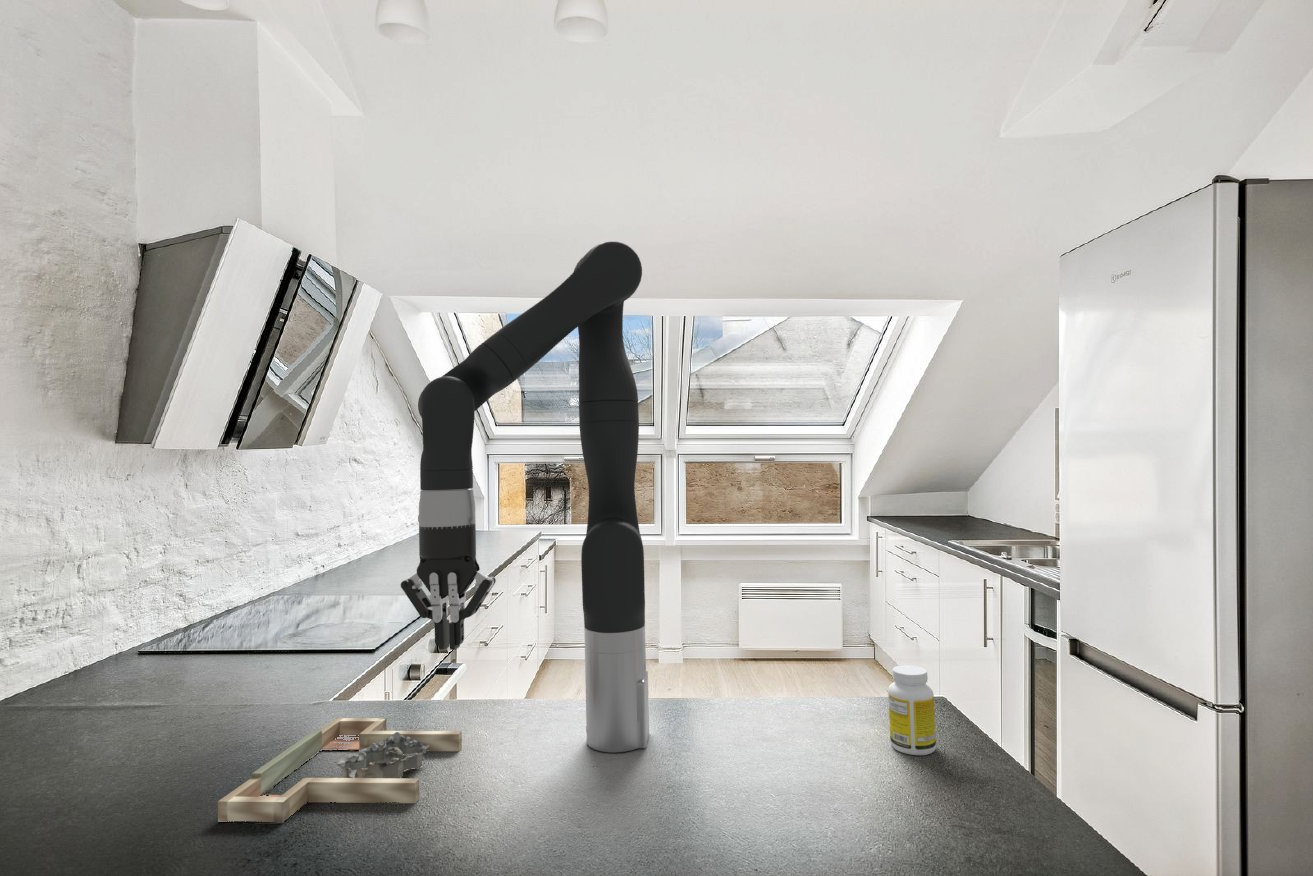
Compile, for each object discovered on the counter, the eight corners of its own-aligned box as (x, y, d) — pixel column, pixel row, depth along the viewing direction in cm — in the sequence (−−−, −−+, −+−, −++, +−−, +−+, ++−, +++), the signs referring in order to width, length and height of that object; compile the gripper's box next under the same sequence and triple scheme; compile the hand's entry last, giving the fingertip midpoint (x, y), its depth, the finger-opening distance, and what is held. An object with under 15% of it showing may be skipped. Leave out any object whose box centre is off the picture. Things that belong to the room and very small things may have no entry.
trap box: (473, 734, 106) (473, 715, 107) (397, 824, 80) (397, 798, 80) (336, 734, 108) (336, 715, 108) (217, 822, 82) (217, 797, 82)
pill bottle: (935, 741, 100) (932, 665, 100) (937, 759, 94) (934, 678, 94) (890, 736, 102) (887, 662, 102) (890, 754, 96) (887, 674, 96)
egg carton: (366, 798, 87) (365, 766, 87) (331, 785, 91) (331, 754, 91) (433, 765, 96) (432, 736, 96) (398, 755, 100) (398, 726, 100)
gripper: (503, 518, 98) (505, 640, 97) (411, 520, 99) (413, 641, 98) (486, 523, 90) (488, 656, 90) (387, 525, 91) (389, 656, 91)
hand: (449, 648), depth 94 cm, fingers closed
